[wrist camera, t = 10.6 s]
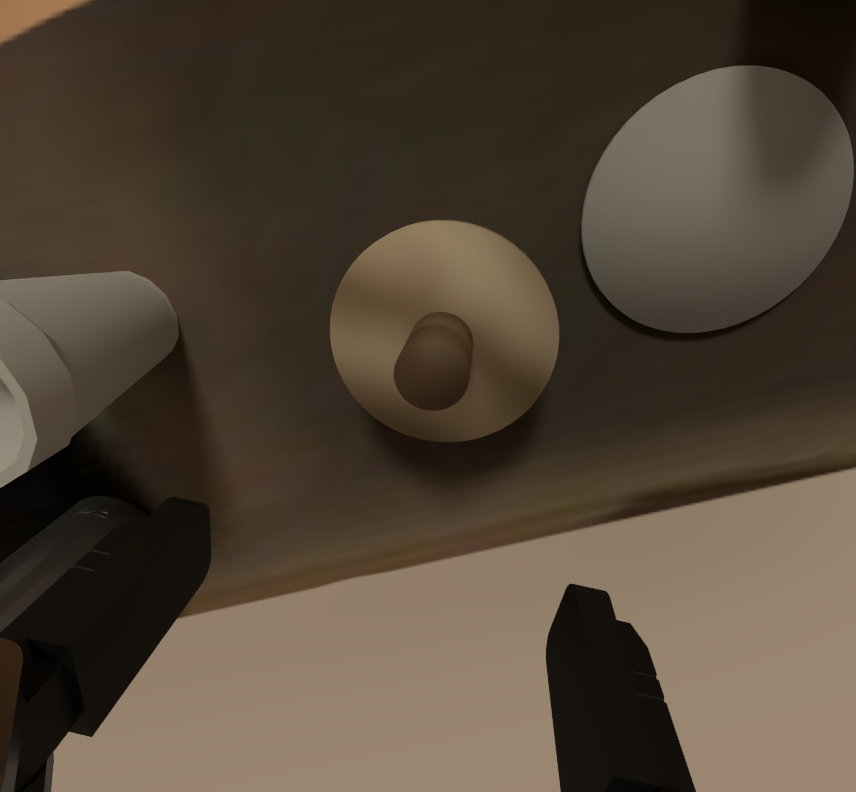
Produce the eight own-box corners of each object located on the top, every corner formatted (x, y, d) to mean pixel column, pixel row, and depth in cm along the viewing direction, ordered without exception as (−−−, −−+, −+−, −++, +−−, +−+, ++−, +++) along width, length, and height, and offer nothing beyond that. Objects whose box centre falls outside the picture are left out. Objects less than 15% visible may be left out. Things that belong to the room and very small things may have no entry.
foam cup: (41, 269, 32) (-223, 324, 20) (153, 226, 30) (-69, 259, 18) (118, 394, 35) (-69, 504, 23) (224, 364, 33) (77, 468, 21)
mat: (743, 360, 29) (748, 364, 28) (541, 284, 28) (542, 286, 28) (908, 124, 23) (918, 123, 22) (658, 25, 22) (662, 21, 22)
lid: (502, 460, 28) (505, 522, 23) (314, 392, 27) (275, 440, 22) (598, 270, 23) (628, 296, 18) (368, 182, 22) (333, 185, 17)
